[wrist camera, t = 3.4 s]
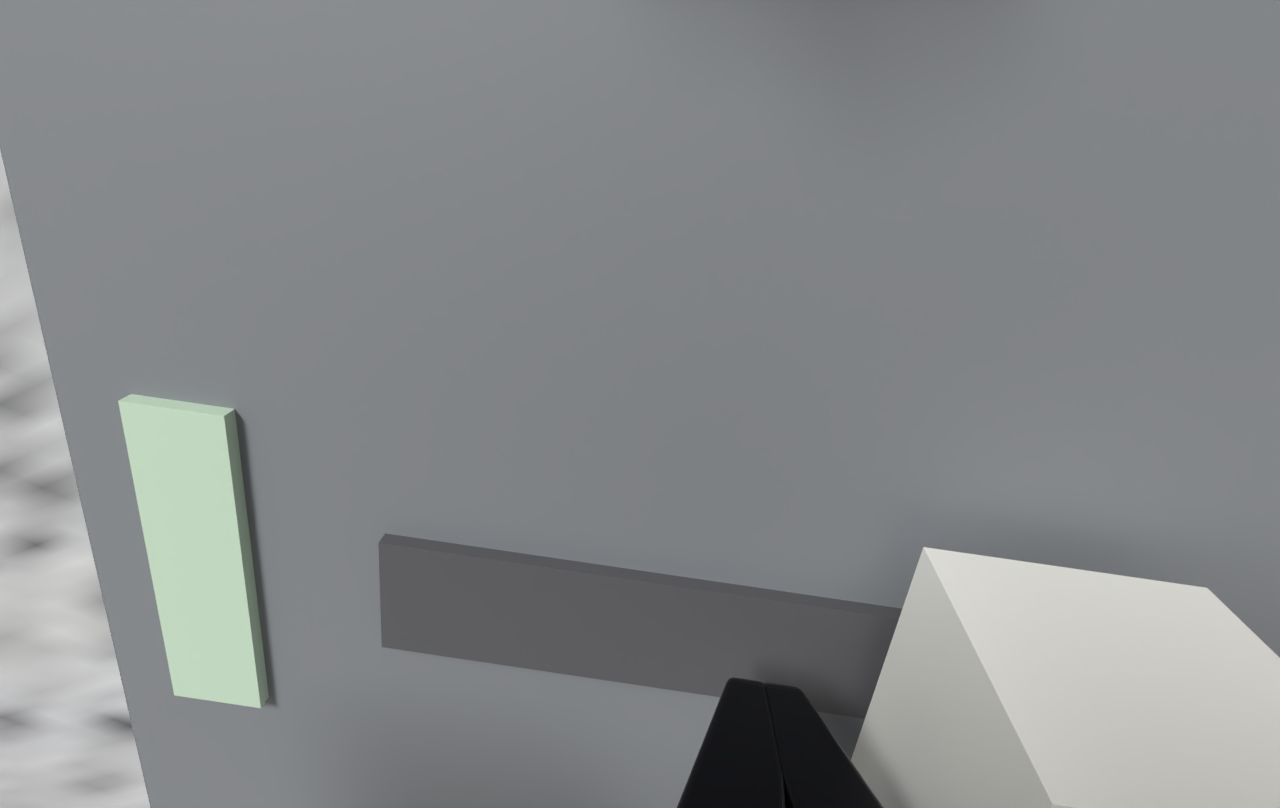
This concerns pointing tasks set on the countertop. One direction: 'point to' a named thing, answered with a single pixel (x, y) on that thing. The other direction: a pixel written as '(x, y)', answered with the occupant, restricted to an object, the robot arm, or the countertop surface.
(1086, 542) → the panel
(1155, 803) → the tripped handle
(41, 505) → the countertop surface
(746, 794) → the robot arm
